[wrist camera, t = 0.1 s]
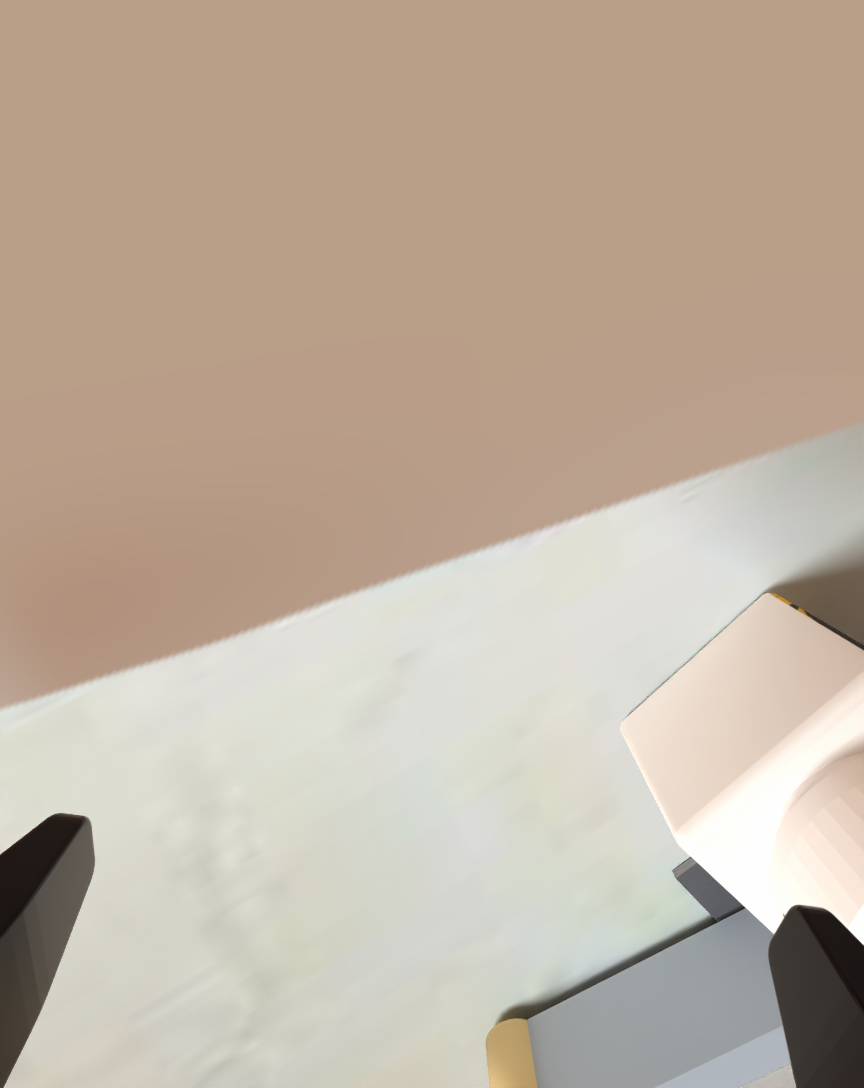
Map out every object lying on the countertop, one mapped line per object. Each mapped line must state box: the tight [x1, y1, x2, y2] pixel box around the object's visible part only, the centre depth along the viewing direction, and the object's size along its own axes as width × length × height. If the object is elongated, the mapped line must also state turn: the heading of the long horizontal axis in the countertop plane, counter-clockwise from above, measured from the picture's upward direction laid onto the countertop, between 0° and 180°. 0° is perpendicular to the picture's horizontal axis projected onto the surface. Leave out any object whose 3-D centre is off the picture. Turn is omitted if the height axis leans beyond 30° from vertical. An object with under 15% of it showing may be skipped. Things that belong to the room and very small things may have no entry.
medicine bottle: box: [621, 593, 864, 945], centre depth 19 cm, size 7×7×12 cm
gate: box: [486, 908, 791, 1088], centre depth 25 cm, size 13×2×5 cm, turn 122°
